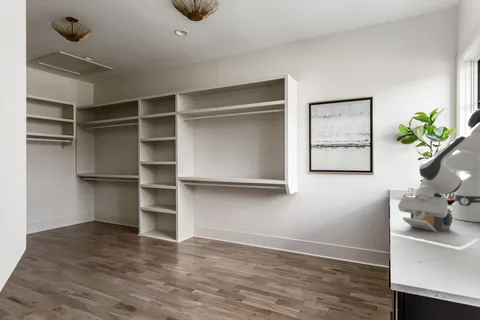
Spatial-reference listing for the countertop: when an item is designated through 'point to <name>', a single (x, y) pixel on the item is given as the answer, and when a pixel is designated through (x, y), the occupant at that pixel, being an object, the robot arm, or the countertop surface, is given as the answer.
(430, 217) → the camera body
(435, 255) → the countertop surface
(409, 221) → the camera door
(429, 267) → the countertop surface
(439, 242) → the countertop surface
